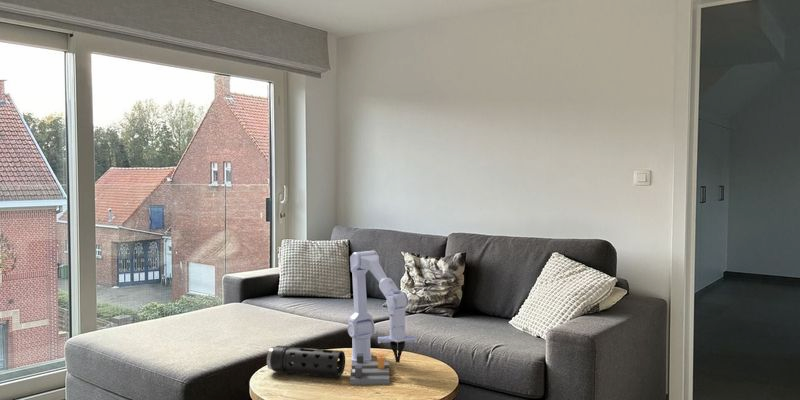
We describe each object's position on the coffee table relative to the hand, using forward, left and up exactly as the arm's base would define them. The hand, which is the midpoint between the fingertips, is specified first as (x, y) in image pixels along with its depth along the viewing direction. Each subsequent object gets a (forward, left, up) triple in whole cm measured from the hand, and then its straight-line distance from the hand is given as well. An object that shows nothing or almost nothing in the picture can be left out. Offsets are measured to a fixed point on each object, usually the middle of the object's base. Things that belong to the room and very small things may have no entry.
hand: (397, 361), depth 225 cm
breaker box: (0, -10, -5) cm, 11 cm away
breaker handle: (0, -6, -3) cm, 7 cm away
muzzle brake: (-1, -34, -5) cm, 35 cm away
